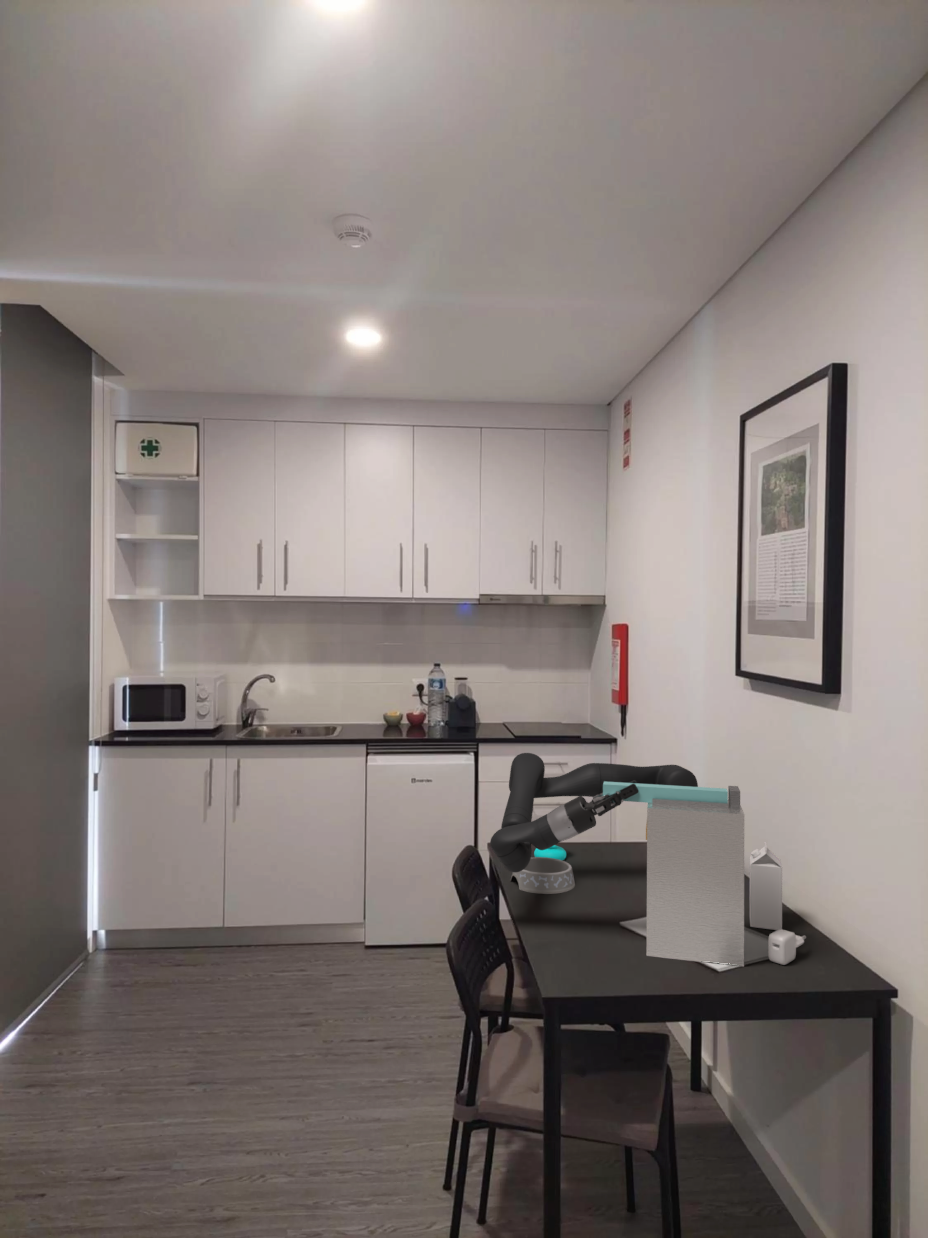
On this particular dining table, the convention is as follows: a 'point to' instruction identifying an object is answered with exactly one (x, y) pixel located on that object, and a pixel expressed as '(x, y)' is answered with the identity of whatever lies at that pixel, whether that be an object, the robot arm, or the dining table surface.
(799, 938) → the power adapter
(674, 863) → the tall grey box
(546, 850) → the donuts
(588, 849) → the dining table surface
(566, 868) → the dog bowl
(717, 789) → the teal tapered block
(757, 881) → the milk carton
